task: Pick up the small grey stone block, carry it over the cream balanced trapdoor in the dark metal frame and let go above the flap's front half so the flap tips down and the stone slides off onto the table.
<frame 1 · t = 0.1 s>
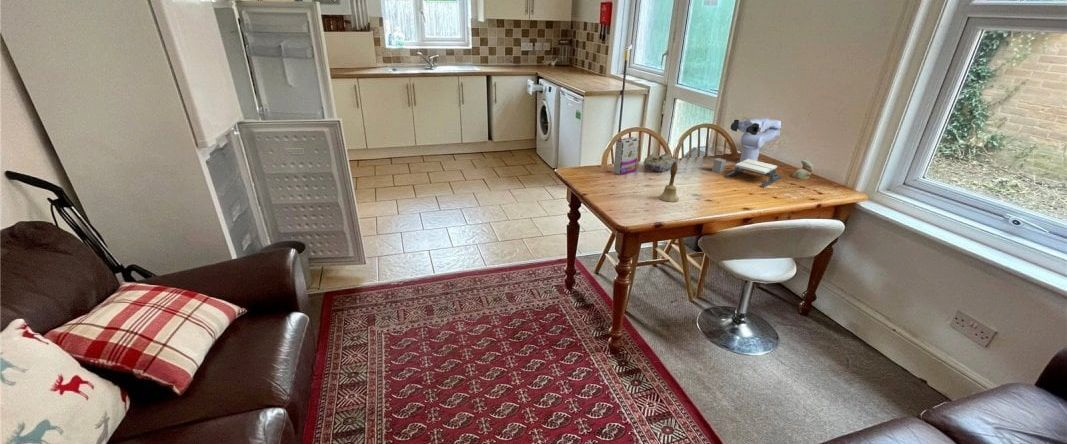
hand: (739, 128, 219), 22 cm above the table, tool horizontal, fingers open, 7 cm apart
geode: (657, 169, 229), on the table
trapdoor frame: (753, 178, 220), on the table
candy bar box: (624, 172, 223), on the table
open clam shell: (801, 177, 223), on the table
hand bell: (668, 199, 194), on the table
stone: (717, 171, 228), on the table
trapdoor: (755, 166, 217), point 6 cm above the table, hinge at 0.0°
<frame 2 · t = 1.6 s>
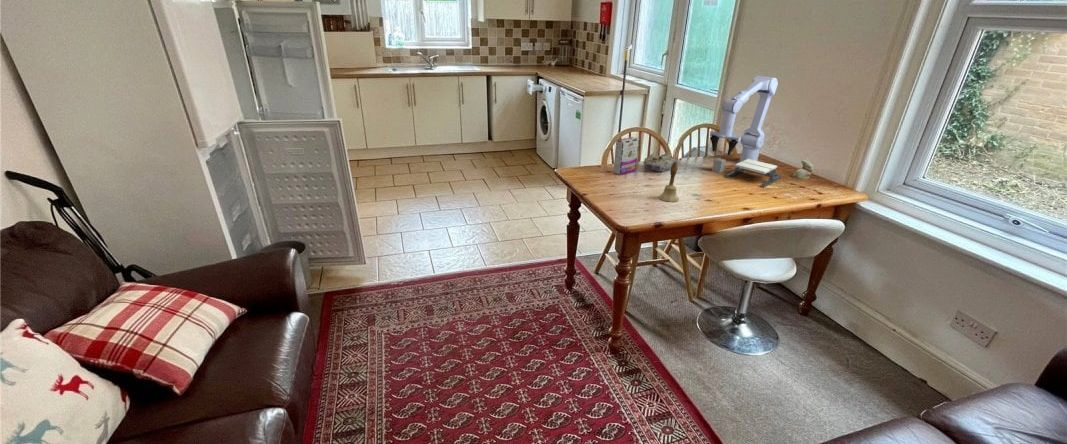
hand: (721, 152, 224), 9 cm above the table, tool pointing down, fingers open, 7 cm apart
nothing on the table moved.
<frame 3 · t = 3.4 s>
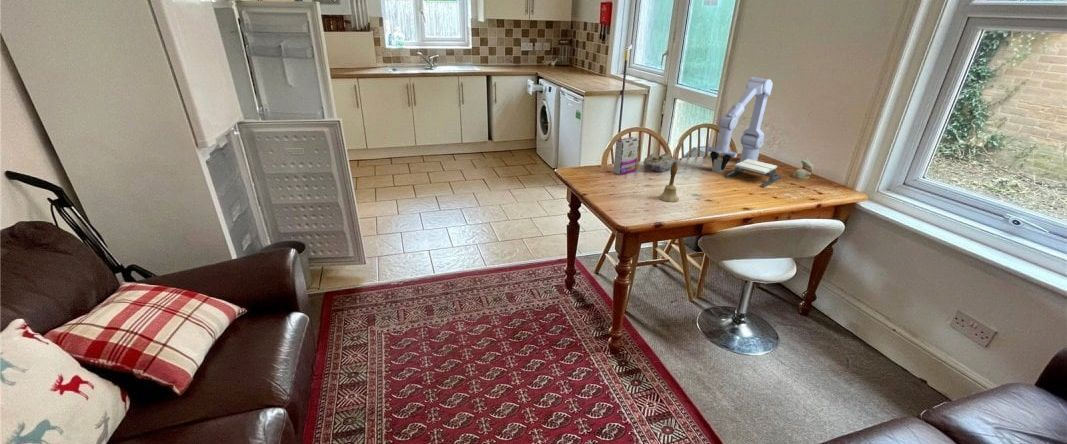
hand: (718, 168, 227), 2 cm above the table, tool pointing down, fingers closed on stone, 4 cm apart
stone: (717, 171, 228), on the table, touching gripper
everything else where it was.
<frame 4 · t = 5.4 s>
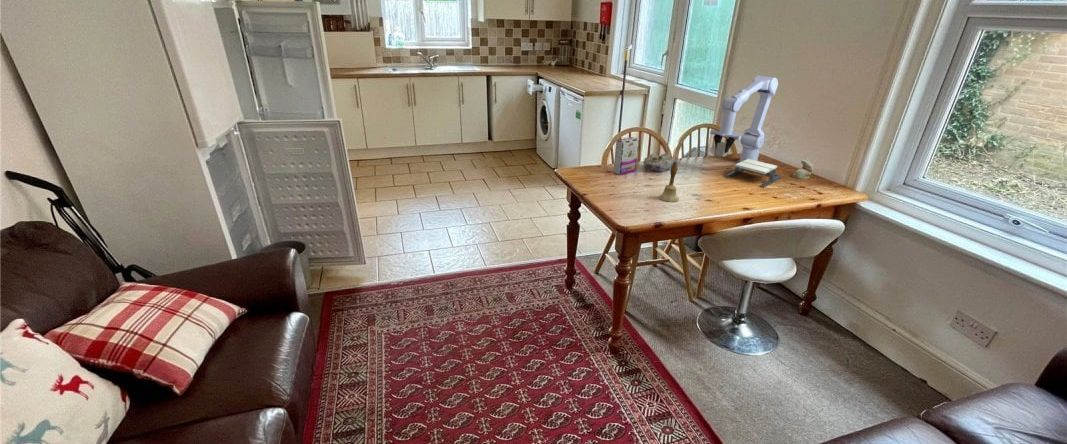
hand: (721, 151, 224), 10 cm above the table, tool pointing down, fingers closed on stone, 4 cm apart
stone: (720, 154, 224), point 8 cm above the table, touching gripper
everything else where it was.
when the fingers open (10 cm above the table, at t = 7.6 s): stone drops 2 cm, resting on trapdoor.
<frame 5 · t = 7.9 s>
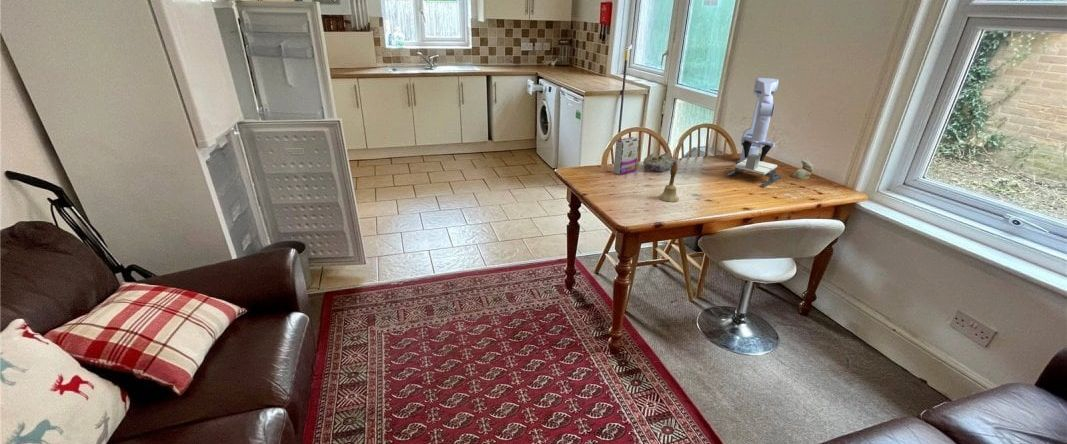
hand: (753, 159, 212), 10 cm above the table, tool pointing down, fingers open, 6 cm apart
stone: (751, 167, 214), point 6 cm above the table, touching trapdoor
trapdoor: (755, 166, 217), point 6 cm above the table, hinge at -3.1°, touching stone
everything else where it was.
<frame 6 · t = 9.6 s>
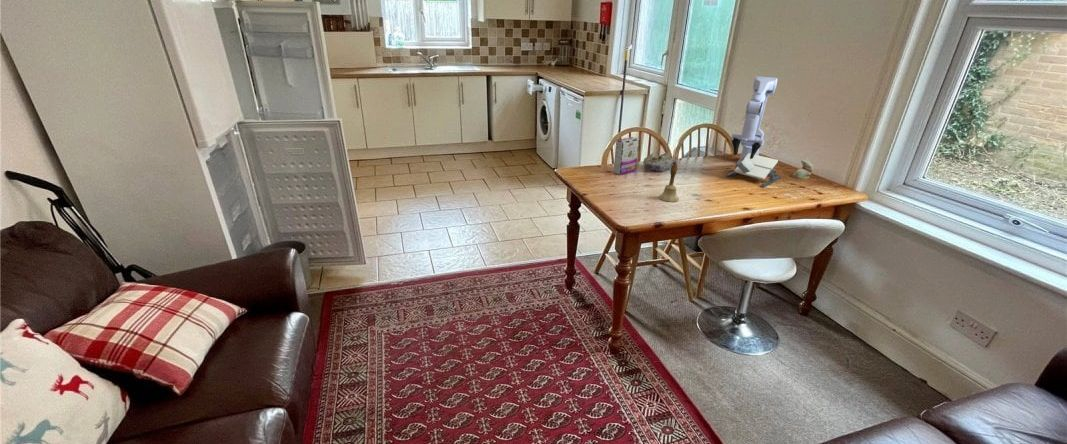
hand: (743, 156, 216), 10 cm above the table, tool pointing down, fingers open, 7 cm apart
stone: (749, 169, 214), point 5 cm above the table, tilted 50°, touching trapdoor
trapdoor: (755, 166, 217), point 6 cm above the table, hinge at -26.5°, touching stone
everything else where it was.
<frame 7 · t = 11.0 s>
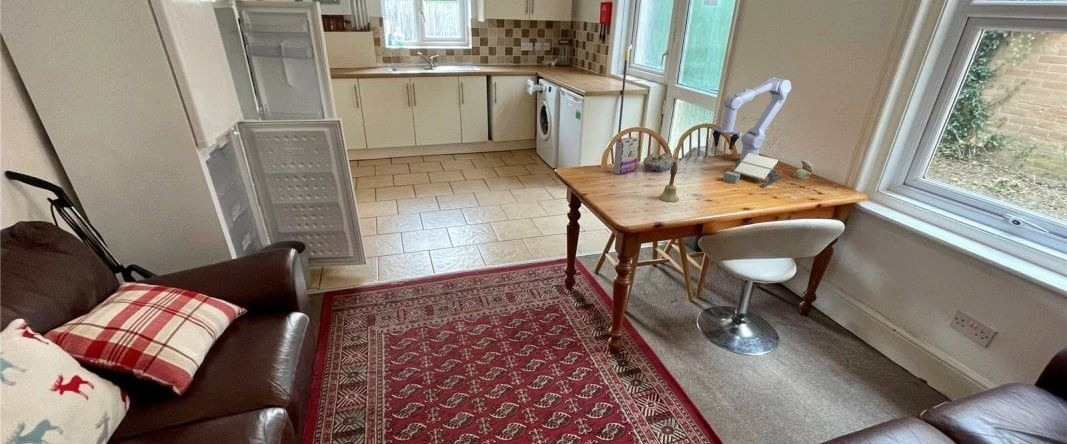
hand: (723, 147, 233), 9 cm above the table, tool pointing down, fingers open, 7 cm apart
stone: (737, 179, 212), point 2 cm above the table, tilted 90°
trapdoor: (755, 166, 217), point 6 cm above the table, hinge at -27.2°
everything else where it was.
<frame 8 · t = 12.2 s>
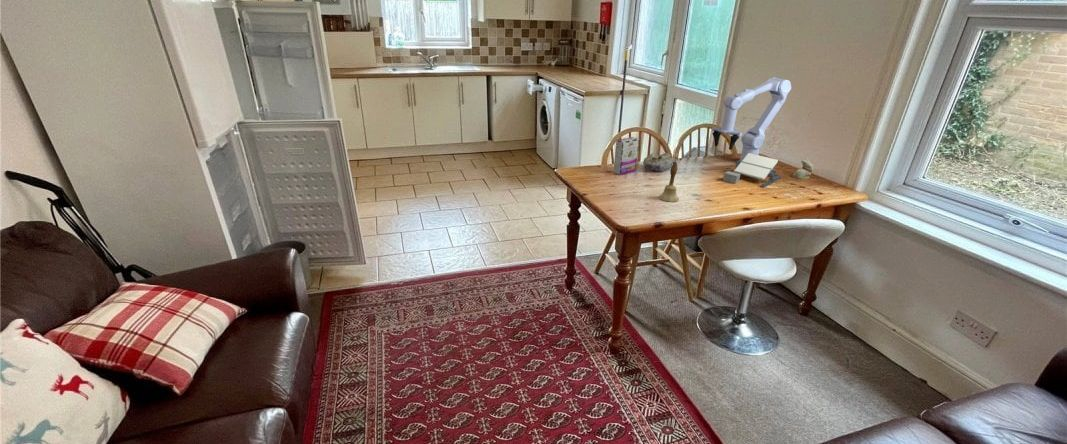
hand: (723, 147, 233), 9 cm above the table, tool pointing down, fingers open, 7 cm apart
nothing on the table moved.
at the end: stone point 1.8 cm above the table; the gripper is holding nothing; stone 13.0 cm from the trapdoor (horizontally) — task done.
